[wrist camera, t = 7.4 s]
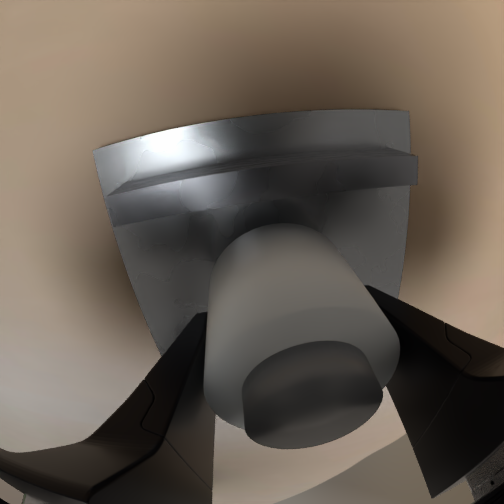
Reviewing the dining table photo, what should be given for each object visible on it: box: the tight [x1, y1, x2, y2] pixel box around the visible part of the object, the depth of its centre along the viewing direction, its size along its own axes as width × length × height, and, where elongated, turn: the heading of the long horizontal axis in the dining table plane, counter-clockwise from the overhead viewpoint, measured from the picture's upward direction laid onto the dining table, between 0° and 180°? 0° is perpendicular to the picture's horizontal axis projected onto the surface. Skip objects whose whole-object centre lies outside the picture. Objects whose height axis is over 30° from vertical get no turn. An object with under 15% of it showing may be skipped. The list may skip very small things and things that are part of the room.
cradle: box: [93, 109, 418, 356], centre depth 11 cm, size 12×12×2 cm
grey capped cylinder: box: [203, 223, 400, 449], centre depth 8 cm, size 5×5×6 cm
